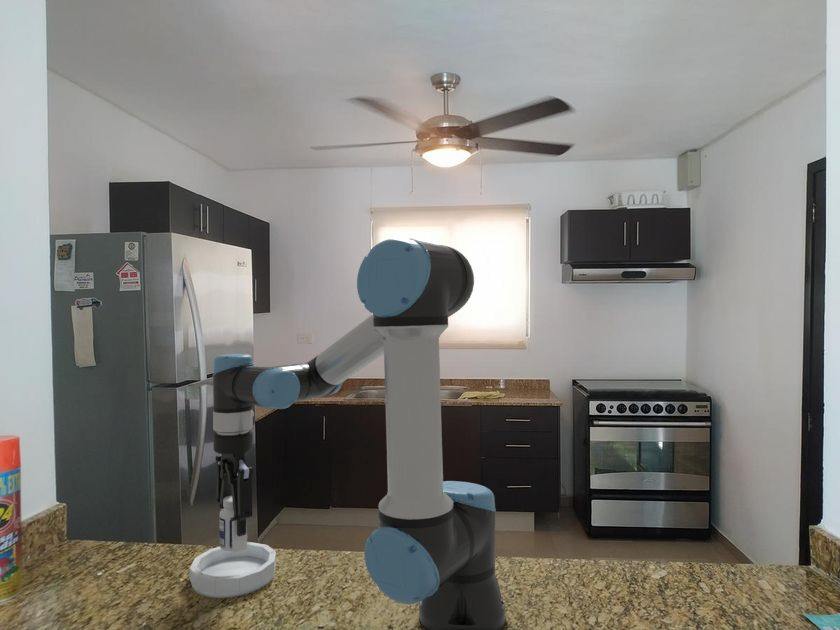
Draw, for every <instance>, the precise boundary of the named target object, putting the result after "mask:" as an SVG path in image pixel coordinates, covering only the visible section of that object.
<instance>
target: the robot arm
mask: <svg viewBox="0 0 840 630" xmlns="http://www.w3.org/2000/svg"><path fill="white" fill-rule="evenodd" d="M356 277H357V279H356V290H357V295H358V298H359V300H360V302H361V303H362V304H364V308H365V309H366V310H367V311H368V312H369V313H371V315H370V316H368V317H367V318H365V319H364V320H363V321H362V322H360V323H358V324H357V325H356V326H354V327H353V328H352V329H351V330H349V331H348V332H347V333H345V334H344V335H343V336H342V337H340V338H339V339H337V340H336V341H335V342H333V343H332V344H331V345H329V346H328V347H327V348H325V349H324V350H322V351H321V352H320V353H319V354H318V355H316V356H315V357H313V358H312V359H310V360H309V361H307V362H300V363H293V364H284V365H278V366H275V365H274V366H255V365H254V364H255V363H254V361H253V356H252V355H250V354H248V353H226V354H225V353H224V354H220V355H217V356H215V358H214V360H213V373H212V376H211V377H212V386H213V387H212V389H213V390H212V391H213V392H212V393H213V395H212V396H213V399H212V400H213V411H212V412H213V413H212V419H213V420H212V430H213V431H215V432H214V434H213V451H214V452H215V453H217V454H218V455H215V465H216V478H215V479H216V480H215V481H216V484H215V489H216V490H215V498H216V500H215V501H216V503H217V504H219V508H220V510H222V509H223V508H224V507H223V499H224V498H225V497H228V496H232V500H233V510H234V517H233V518H231V521H232V552H233V553H235V552H239V551H242V550H245V549H247V530H248V519H249V518H251V517H253V480H252V479H253V472H254V469H253V467H252V466H249V467H248V463H247V462H248V461H247V458H246V453H247V452H249V451H251V450H252V449H253V447H254V432H253V431H252V429H253V421H254V420H253V419H254V418H253V417H255V412H254V411H253V408H254V406H255V407H262V408H264V409H265V408H266V409H269V410H276V409H279V410H284V409H287V408H290V406H292V405H293V404H294V403H296V402H300V401H307V400H312V399H317V398H318V399H319V398H326V397H328V396H331V395H334V394H336V393H337V392H339V391H340V390H341V388H342V386H343V384H344V382H345V381H346V380H348V379H349V378H350V377H352V376H353V375H355V374H356V373H358V372H360V371H361V370H362V369H364V368H365V367H367V366H368V365H370V364H371V363H372V362H374V361H376V360H377V359H379V358H380V357H381V356H383V363H384V393H385V394H384V396H385V397H384V399H385V431H386V432H385V434H386V464H387V465H386V466H387V467H386V469H387V470H386V471H387V472H386V473H387V492H386V493H387V494H385V496H384V497H382V499H381V500H380V501H379V503H378V506H377V507H378V528H375V529H374V530H373V531H372V533H371V534H370V536H369V537H368V538H367V539H366V542H365V544H364V551H363V552H364V553H363V555H364V562H365V565H366V570H367V571H368V575H369V576H370V578H371V580H372V582H373V583H374V584H375V585H376V586H377V587H378V589H379V591H380V592H381V593H383V594H384V595H385V596H386V597H388V598H389V599H390V600H392V601H393V602H396V603H399V604H403V605H414V604H417V603H418V619H419V622H420V624H421V625H422V627H424V629H426V630H503V627H504V626H505V623H506V604H505V601H504V597H503V596H502V593H501V588H500V585H499V581H498V579H497V575H496V513H497V509H496V501H495V495H494V492H493V491H492V490H491V489H490V488H488V487H487V486H484V485H481V484H478V483H473V482H468V481H458V480H457V481H456V480H446V481H444V473H443V472H444V470H443V468H444V467H443V444H442V443H443V438H442V434H443V433H442V432H443V431H442V428H443V427H442V404H441V403H442V402H441V400H442V399H441V398H442V397H441V366H440V361H441V360H440V338H441V335H442V334H443V333H444V332H445V331H446V329H447V328H449V318H450V317H451V316H453V315H454V314H456V313H457V312H458V311H460V310H461V309H463V307H464V306H466V304H467V303H468V302H469V300H470V299H471V296H472V293H473V291H474V286H475V275H474V271H473V268H472V265H471V264H470V261H469V260H468V258H467V257H466V256H465V255H464V254H463V253H461V252H460V251H459V250H457V249H456V248H454V247H451V246H448V245H443V244H434V243H430V242H427V241H426V242H425V241H420V240H418V239H414V238H389V239H385V240H383V241H381V242H378V243H377V244H375V245H374V246H373V247H372V248H371V249H370V250H369V252H368V254H367V255H365V256H364V257H363V259H362V261H361V263H360V266H359V269H358V272H357V276H356Z"/></svg>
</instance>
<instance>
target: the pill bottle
mask: <svg viewBox="0 0 840 630" xmlns="http://www.w3.org/2000/svg"><path fill="white" fill-rule="evenodd" d="M223 507H224V508H223V509H220V512H219V516H218V517H219V518H218V519H219V524H218V525H219V526H218V527H219V533H218V534H219V547H220V548H221V549H222V550H224V551H232V521H231V518H233V517H234V510H233V500H232V496H228V497H225V498H224V499H223ZM248 532H249V531H248V529H247V542H249V540H248V535H249V534H248Z"/></svg>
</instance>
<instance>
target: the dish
mask: <svg viewBox="0 0 840 630" xmlns="http://www.w3.org/2000/svg"><path fill="white" fill-rule="evenodd" d="M276 567H277V550H276V551H275V549H274V548H272V547H271V546H269V545H268V544H264V543H258V542H252V541H251V542H250V541H248V542H247V549H245V550H242V551H239V552H235V553H233V552H232V551H224V550H222V549H221V548H220V546H217V547H214V548H210V549H208V550H207V551H205V552H202V553H201V554H200V555H197V556H195V558H194V559H193V561H192V563H191V565H190V567H189V581H190V583H191V587H192V590H193V591H194V592H195V593H197V594H198V595H200V596H203V597H207V598H213V599H226V598H234V597H240V596H243V595H247V594H250V593H251V594H252V592H253V593H254V592H256V591H258V590H259V589H262V588H264V587H265V586H267V585H268V584H269V583H270V582H271V581H273V579H274V577H275V574H276Z"/></svg>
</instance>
